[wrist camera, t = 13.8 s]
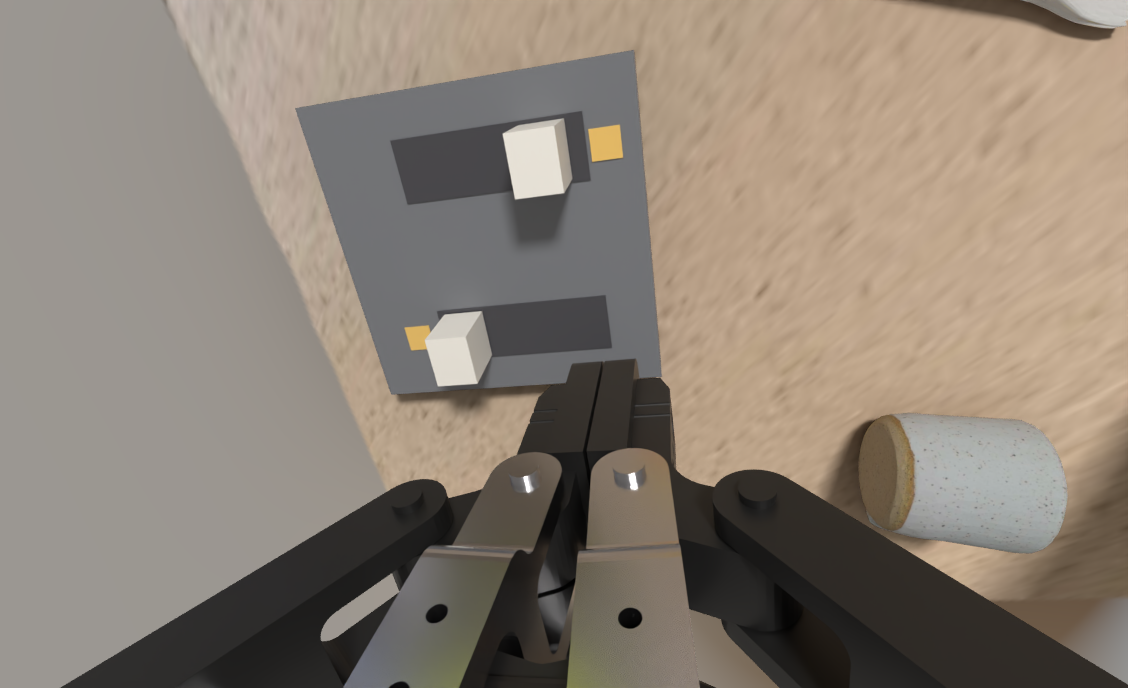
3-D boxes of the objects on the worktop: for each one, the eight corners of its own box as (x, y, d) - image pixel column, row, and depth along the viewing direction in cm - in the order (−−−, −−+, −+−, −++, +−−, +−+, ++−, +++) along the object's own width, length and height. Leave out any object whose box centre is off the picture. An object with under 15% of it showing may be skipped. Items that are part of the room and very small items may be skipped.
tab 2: (563, 118, 28) (553, 125, 25) (572, 178, 29) (564, 193, 26) (517, 125, 28) (502, 133, 25) (528, 184, 30) (514, 199, 27)
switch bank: (634, 50, 28) (633, 50, 26) (660, 360, 36) (661, 377, 34) (314, 105, 31) (294, 108, 30) (402, 379, 39) (390, 395, 37)
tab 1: (481, 311, 34) (465, 336, 31) (492, 354, 35) (477, 383, 32) (444, 314, 34) (424, 340, 31) (455, 357, 35) (438, 386, 32)
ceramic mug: (867, 388, 35) (919, 469, 28) (1008, 394, 34) (1097, 480, 27) (833, 512, 40) (871, 606, 33) (956, 521, 39) (1020, 620, 32)
